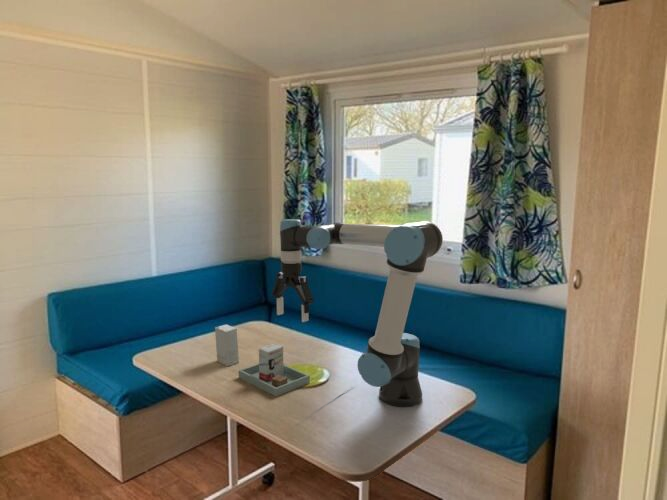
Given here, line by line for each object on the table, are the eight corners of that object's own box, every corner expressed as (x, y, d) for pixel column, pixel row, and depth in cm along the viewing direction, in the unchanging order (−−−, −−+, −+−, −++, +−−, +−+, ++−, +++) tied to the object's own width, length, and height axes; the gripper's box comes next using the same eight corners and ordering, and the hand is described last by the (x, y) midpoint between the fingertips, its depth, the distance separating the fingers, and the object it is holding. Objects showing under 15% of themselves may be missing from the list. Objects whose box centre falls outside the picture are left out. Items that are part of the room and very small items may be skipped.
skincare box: (239, 363, 206) (238, 328, 203) (226, 366, 202) (225, 331, 199) (228, 357, 212) (227, 323, 209) (215, 360, 208) (214, 326, 205)
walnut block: (287, 387, 181) (287, 377, 180) (280, 391, 178) (280, 381, 177) (279, 385, 183) (278, 374, 183) (271, 389, 180) (271, 378, 179)
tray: (309, 385, 186) (309, 375, 185) (275, 399, 174) (275, 389, 174) (272, 368, 201) (271, 359, 200) (238, 380, 189) (238, 370, 189)
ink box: (267, 382, 185) (267, 352, 183) (258, 378, 188) (258, 348, 186) (283, 375, 192) (283, 345, 190) (275, 371, 195) (274, 342, 193)
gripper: (323, 264, 178) (323, 322, 181) (276, 256, 194) (277, 309, 198) (307, 267, 172) (308, 326, 175) (261, 259, 189) (263, 313, 192)
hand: (292, 317), depth 187 cm, fingers open, 13 cm apart
